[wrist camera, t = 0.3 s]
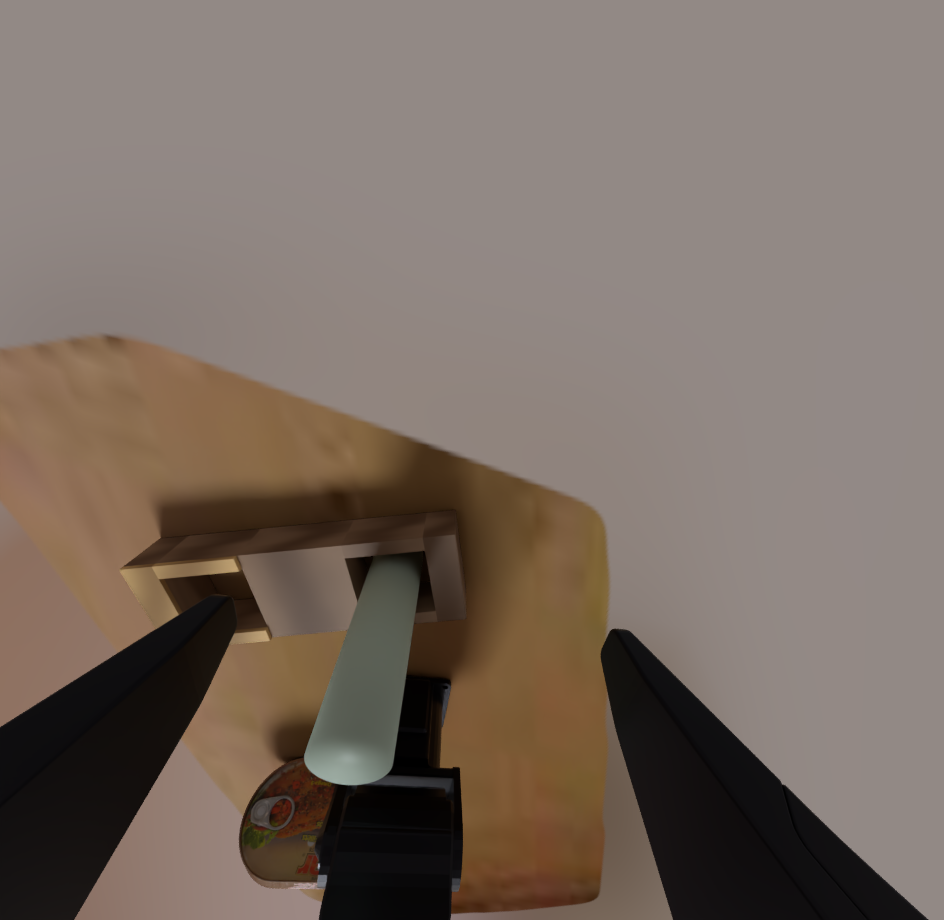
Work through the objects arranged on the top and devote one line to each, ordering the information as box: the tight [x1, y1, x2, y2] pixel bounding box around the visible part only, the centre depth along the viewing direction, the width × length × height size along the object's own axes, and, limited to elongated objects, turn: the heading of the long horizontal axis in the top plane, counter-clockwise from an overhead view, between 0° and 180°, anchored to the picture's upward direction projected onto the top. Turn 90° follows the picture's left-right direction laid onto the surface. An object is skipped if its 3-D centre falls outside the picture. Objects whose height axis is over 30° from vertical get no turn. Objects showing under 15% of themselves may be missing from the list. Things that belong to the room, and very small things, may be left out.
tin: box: [239, 758, 336, 889], centre depth 33 cm, size 15×3×8 cm, turn 78°
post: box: [304, 551, 423, 785], centre depth 21 cm, size 4×4×13 cm
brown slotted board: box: [119, 510, 466, 645], centre depth 25 cm, size 21×7×3 cm, turn 95°
